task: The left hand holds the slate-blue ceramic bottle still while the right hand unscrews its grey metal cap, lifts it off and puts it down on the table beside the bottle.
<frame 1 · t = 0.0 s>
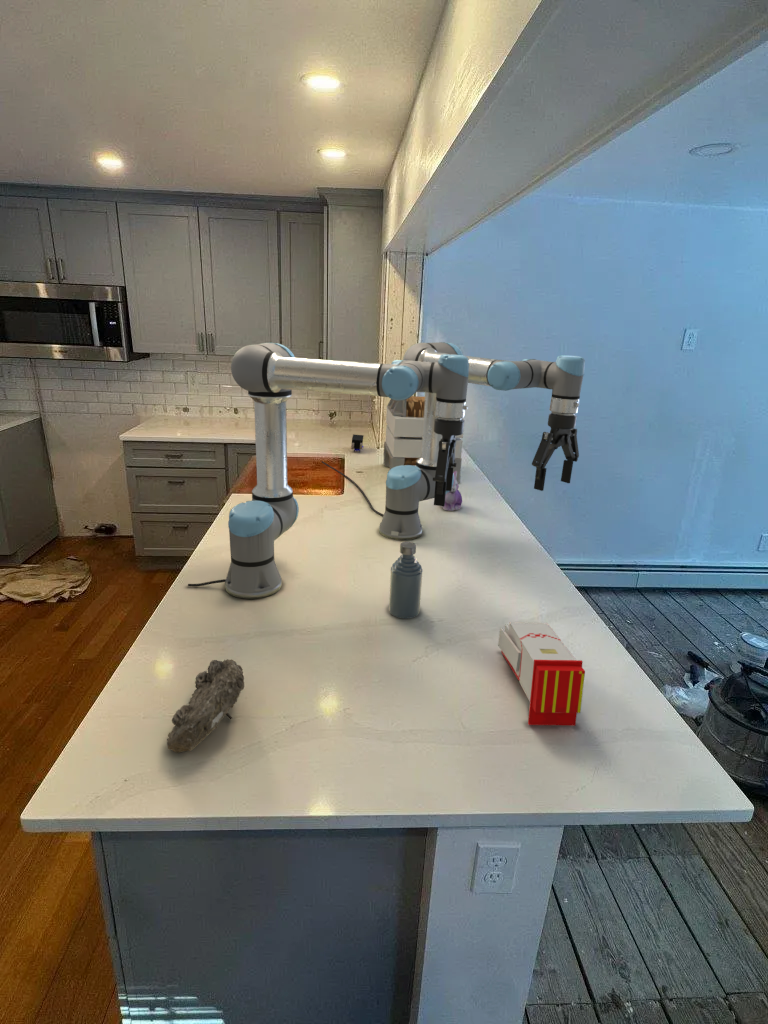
left hand: (442, 497, 151), 28 cm above the counter, tool pointing down, fingers open, 13 cm apart
right hand: (552, 485, 166), 28 cm above the counter, tool pointing down, fingers open, 13 cm apart
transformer: (419, 473, 275), on the counter
cap: (408, 545, 143), point 19 cm above the counter, screwed on, not yet turned
toy: (532, 682, 122), on the counter
figurine character: (357, 450, 313), on the counter
bottle: (404, 610, 149), on the counter
fossil: (212, 717, 108), on the counter
figurine: (451, 507, 229), on the counter
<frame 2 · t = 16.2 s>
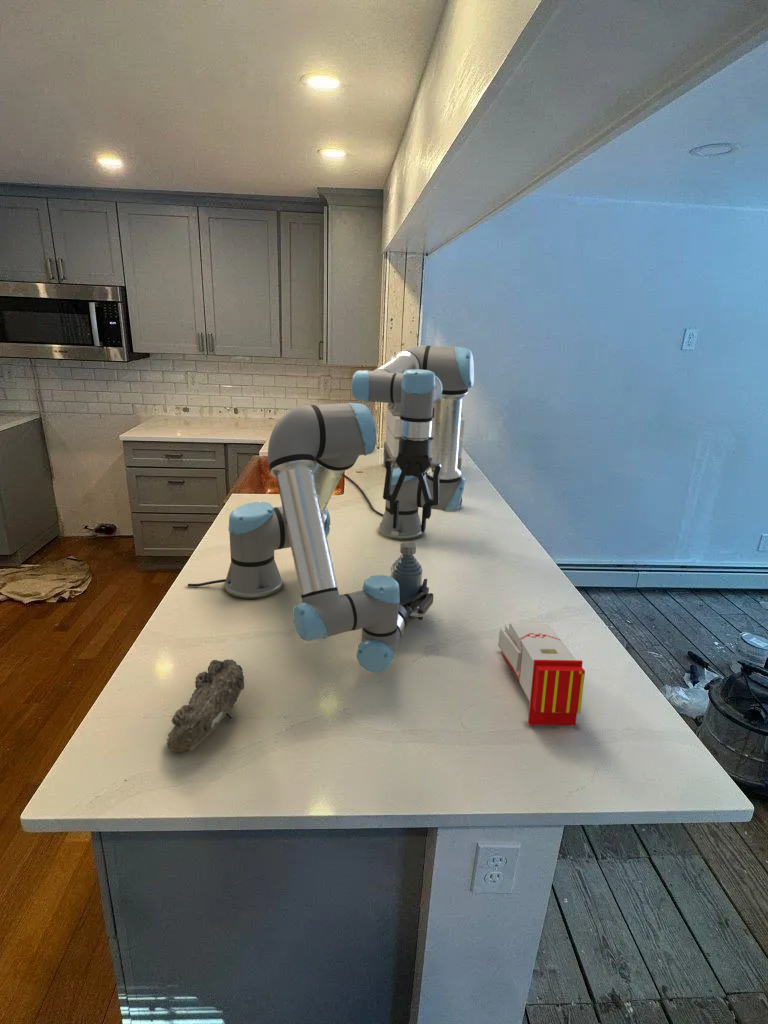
left hand: (409, 581, 152), 6 cm above the counter, tool horizontal, fingers closed on bottle, 8 cm apart
right hand: (409, 528, 141), 23 cm above the counter, tool pointing down, fingers open, 6 cm apart
bottle: (404, 610, 149), on the counter, touching left hand
everything else where it was.
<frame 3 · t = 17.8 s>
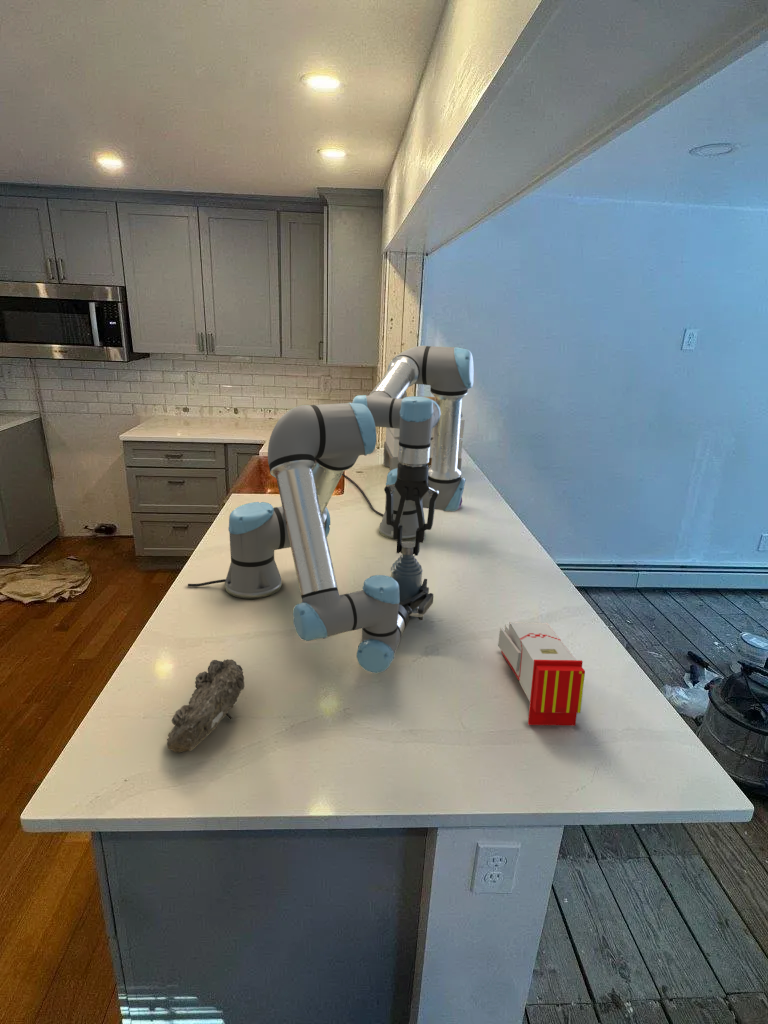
left hand: (409, 581, 152), 6 cm above the counter, tool horizontal, fingers closed on bottle, 8 cm apart
right hand: (407, 552, 144), 17 cm above the counter, tool pointing down, fingers closed on cap, 4 cm apart
cap: (408, 545, 143), point 19 cm above the counter, screwed on, not yet turned, touching right hand
bottle: (404, 610, 149), on the counter, touching left hand
everything else where it was.
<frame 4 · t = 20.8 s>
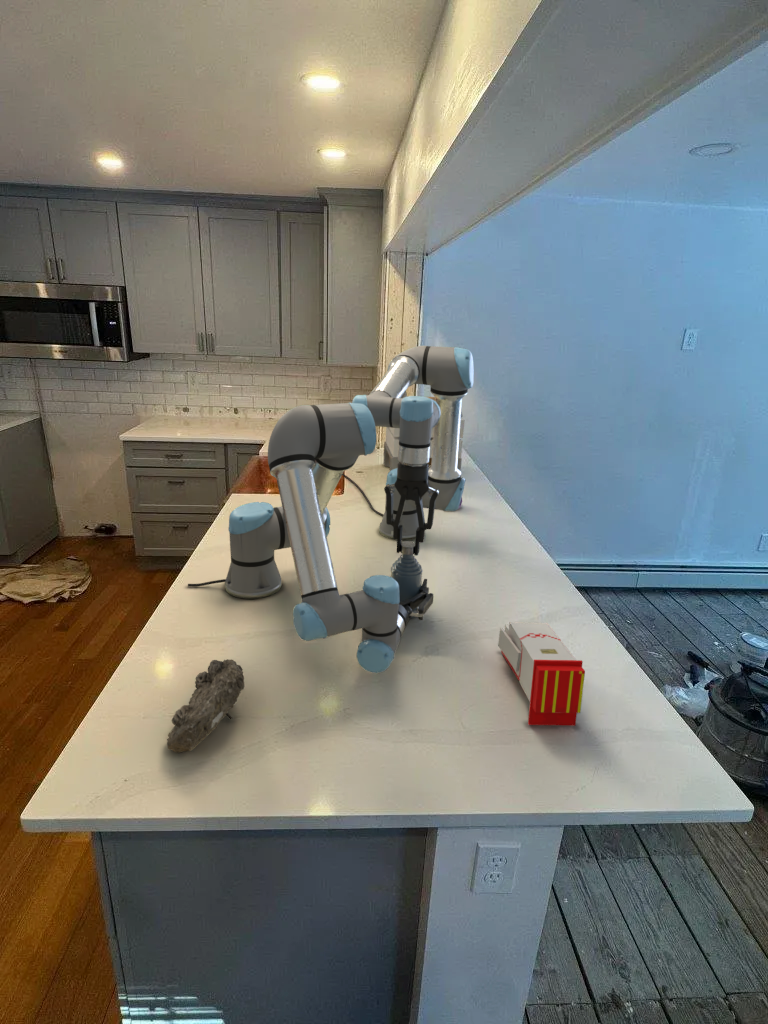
left hand: (409, 581, 152), 6 cm above the counter, tool horizontal, fingers closed on bottle, 8 cm apart
right hand: (407, 551, 144), 17 cm above the counter, tool pointing down, fingers closed on cap, 4 cm apart
cap: (408, 545, 143), point 19 cm above the counter, turned 102° so far, risen 0.1 cm, still on its thread, touching right hand
bottle: (404, 610, 149), on the counter, touching left hand
everything else where it was.
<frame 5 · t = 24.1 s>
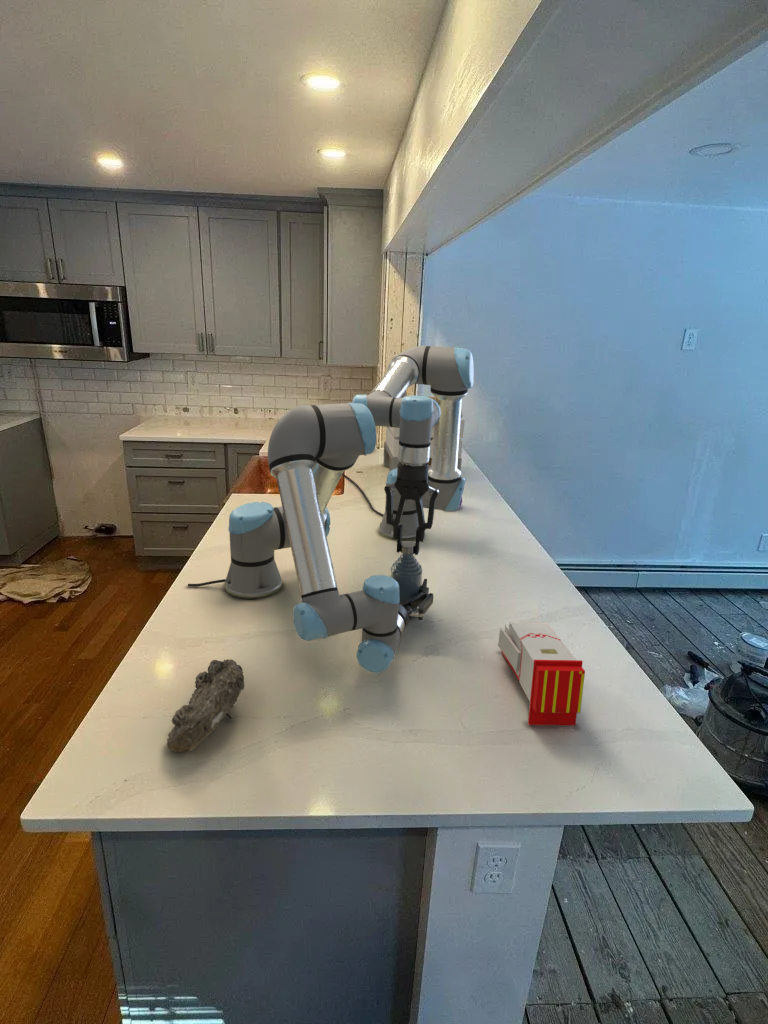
left hand: (409, 581, 152), 6 cm above the counter, tool horizontal, fingers closed on bottle, 8 cm apart
right hand: (407, 551, 144), 17 cm above the counter, tool pointing down, fingers closed on cap, 4 cm apart
cap: (408, 544, 143), point 19 cm above the counter, turned 204° so far, risen 0.2 cm, still on its thread, touching right hand
bottle: (404, 610, 149), on the counter, touching left hand
everything else where it was.
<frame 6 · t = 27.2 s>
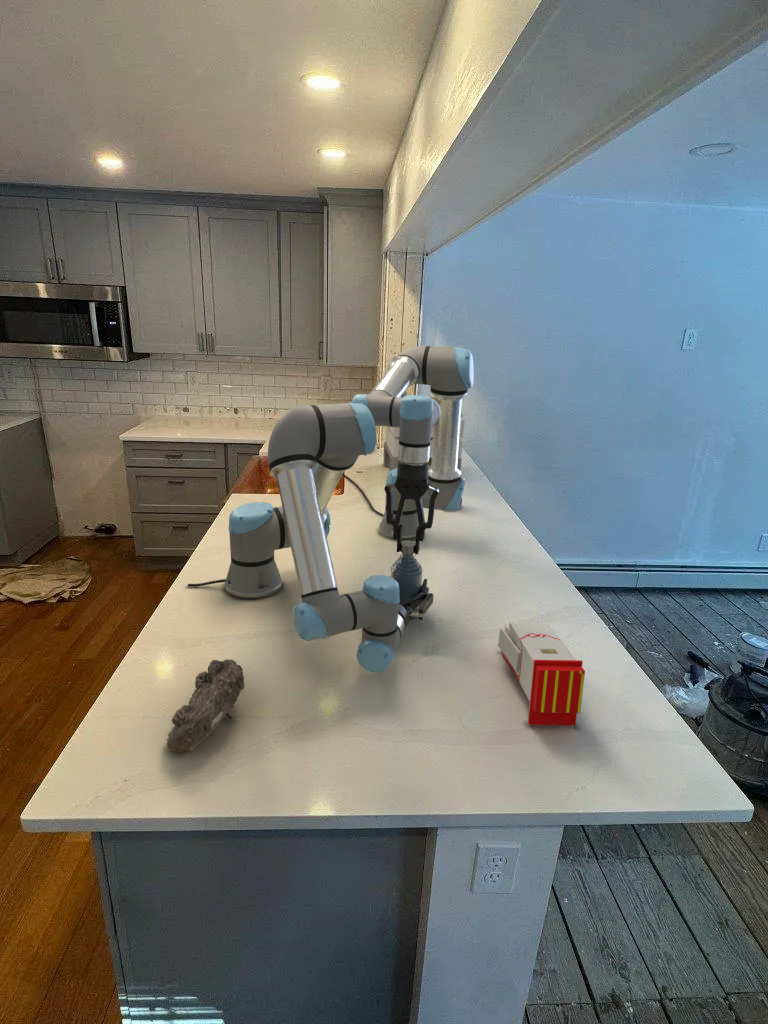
left hand: (409, 581, 152), 6 cm above the counter, tool horizontal, fingers closed on bottle, 8 cm apart
right hand: (407, 551, 144), 17 cm above the counter, tool pointing down, fingers closed on cap, 4 cm apart
cap: (408, 544, 143), point 19 cm above the counter, turned 305° so far, risen 0.3 cm, still on its thread, touching right hand
bottle: (404, 610, 149), on the counter, touching left hand
everything else where it was.
when the right hand's fingers open (1 cm above the counter, at t = 33.7 s): cap stays where it is, point 2 cm above the counter.
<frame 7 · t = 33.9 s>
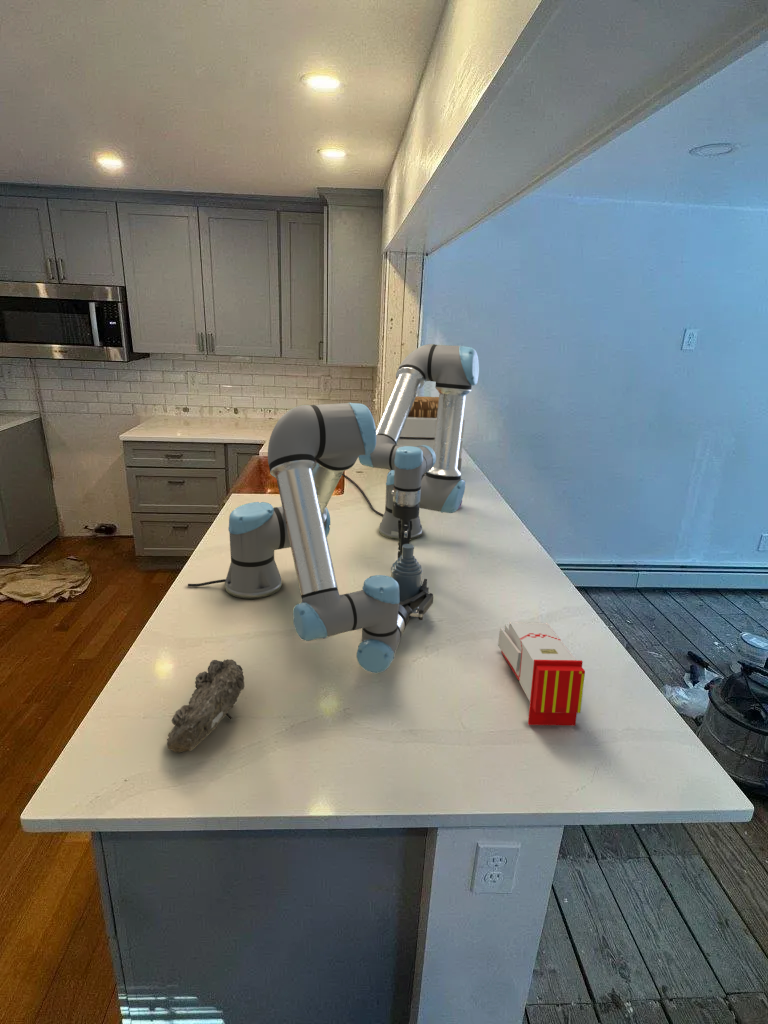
left hand: (409, 581, 152), 6 cm above the counter, tool horizontal, fingers closed on bottle, 8 cm apart
right hand: (401, 577, 165), 1 cm above the counter, tool pointing down, fingers open, 7 cm apart
cap: (401, 574, 165), point 2 cm above the counter, off its thread
bottle: (404, 610, 149), on the counter, touching left hand
everything else where it was.
when the left hand's fingers open (6 cm above the counter, at t = 35.0 s): bottle stays where it is, on the counter.
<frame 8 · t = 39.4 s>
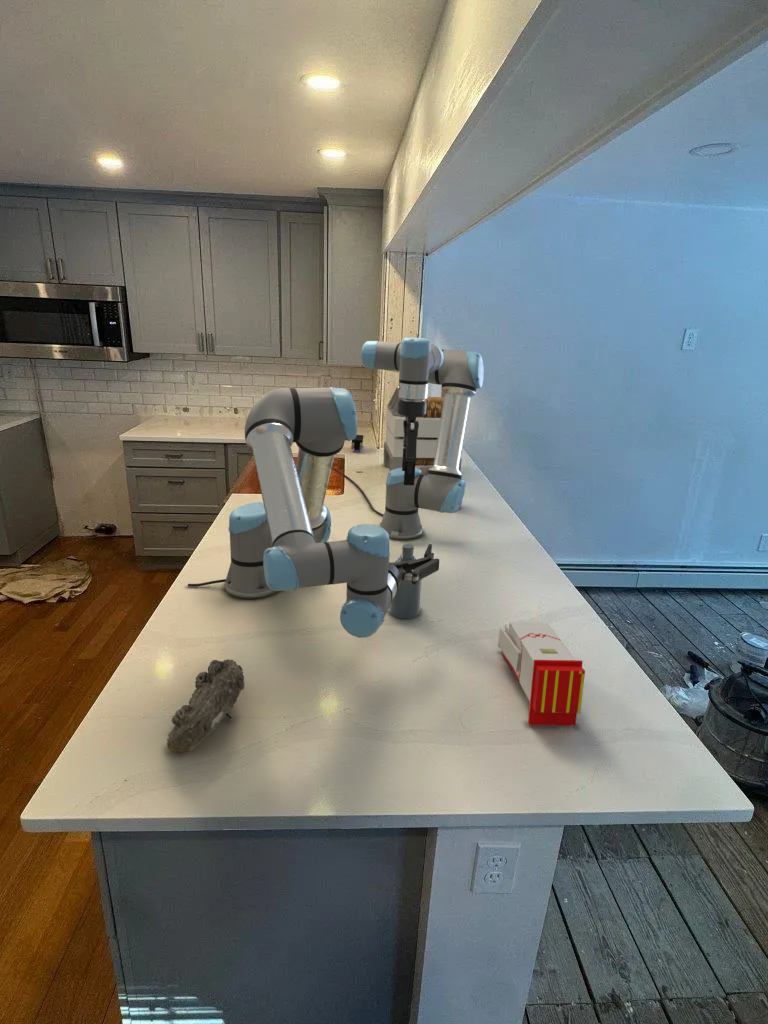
left hand: (401, 545, 134), 22 cm above the counter, tool horizontal, fingers open, 13 cm apart
right hand: (407, 477, 155), 31 cm above the counter, tool pointing down, fingers open, 13 cm apart
bottle: (404, 610, 149), on the counter
everything else where it was.
at the end: cap came off its thread; cap point 1.8 cm above the counter; the left hand is holding nothing; the right hand is holding nothing; bottle tilted 0°; bottle moved 0.0 cm from its start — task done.
